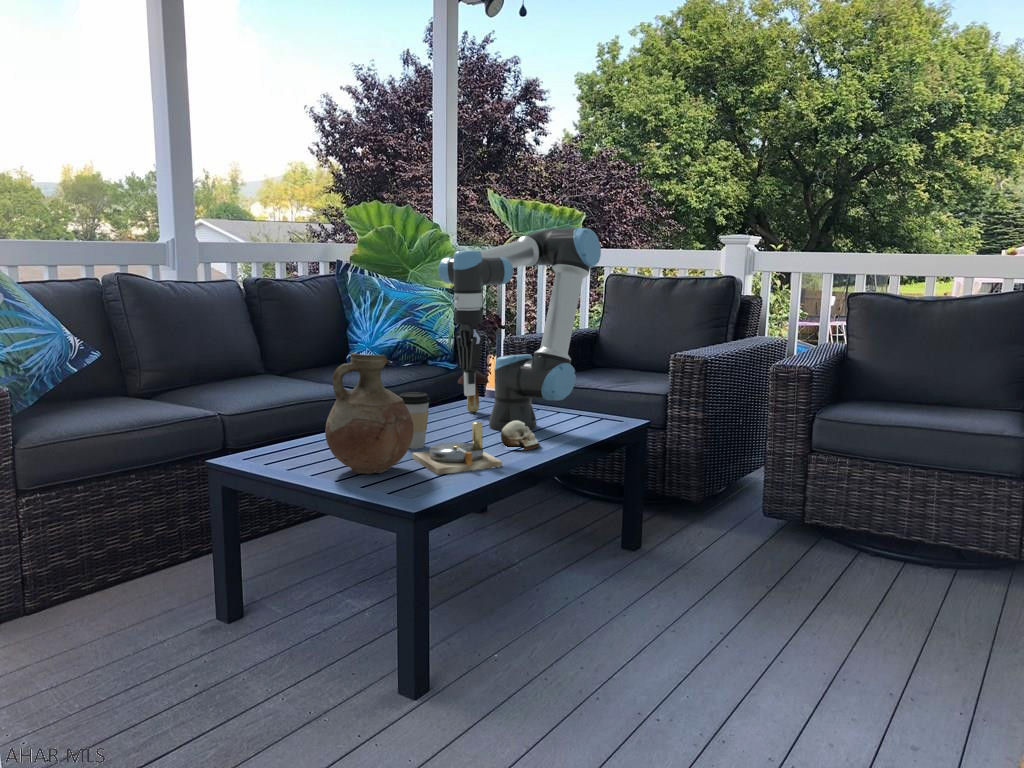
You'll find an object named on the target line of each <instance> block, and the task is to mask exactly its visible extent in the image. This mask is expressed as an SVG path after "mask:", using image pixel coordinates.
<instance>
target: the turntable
mask: <svg viewBox="0 0 1024 768" xmlns="http://www.w3.org/2000/svg"><path fill="white" fill-rule="evenodd" d="M471 427H472V430H471V431H472V432H471V433H472V440H471V442H472V443H470V442H459V441H458V442H442V443H438V444H435V445H432V446H430V448H429V451H430V458H431V459H433V460H436V461H441V462H452V463H460V462H466V452H471V453H472V461H476V460H479V459H481V458H482V457H483V452H484V447H483V422H482V421H474V422H472V426H471Z"/></svg>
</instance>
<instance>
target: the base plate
mask: <svg viewBox="0 0 1024 768" xmlns="http://www.w3.org/2000/svg"><path fill="white" fill-rule="evenodd" d="M411 455H412V459H413V460H414V461H416V462H418V463H419V464H420V465H422V466H424V467H425V468H427V469H428V470H429V471H431V472H432V473H434V474H435V475H444V474H445V475H446V474H453V473H462V471H463V472H468V471H467V470H472V471H477V470H476V469H481V470H485V469H484V468H489V469H493V468H492V467H498V466H502V467H503V461H502V460H500V459H498V458H496V457H495V456H493V455H491V454H489V453H487V452H486V451H483V457H482V458H481V459H479V460H476V461H472V453H471V452H466V462H460V463H452V462H441V461H436V460H433V459H431V458H430V450H428V451H418V452H417V451H416V452H412V454H411ZM498 468H499V467H498Z"/></svg>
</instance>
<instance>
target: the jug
mask: <svg viewBox="0 0 1024 768" xmlns="http://www.w3.org/2000/svg"><path fill="white" fill-rule="evenodd" d="M388 361H389V360H388V359H387V357H386V355H384V354H361V353H355V352H351V353H350V362H348V363H342V364H341V365H339V366H337V368H336V369H335V371H334V373H333V375H332V387H333V390H334V394H335V396H336V400H335V402H334V404H333V406H332V408H331V410H330V411H329V414H328V416H327V419H326V423H325V432H324V433H325V435H324V436H325V439H326V444H327V446H328V448H329V450H330V452H331V453H332V455H333V456H334V457H335V458H336V460H338V461H339V462H340V463H341V464H342V465H344V466H345V467H348V468H350V469H351V473H354V474H364V475H365V474H366V475H372V474H375V473H377V474H381V473H385V471H389V470H390V468H391V467H393V466H395V465H396V464H397V463H398V462H400V461H401V460H402V458H404V457H405V455H406V454H407V452H408V451H409V449H410V448H409V447H410V444H411V442H412V439H413V431H414V427H413V421H412V418H411V415H410V413H409V410H408V408H407V407H406V405H405V404H404V402H403V399H402V398H400V397H399V395H397V394H396V393H394V391H393V392H392V391H391V390H389V389H387V388H386V387H384V385H383V382H382V378H381V375H382V374H381V373H382V371H383V369H384V367H385V366H386V364H387V363H388ZM351 372H357V373H359V378H358V379H359V380H358V383H357V385H356V386H355V387H354V388H352V389H350V390H347V389H345V387H344V385H343V384H344V383H343V378H344V377H345V375H346V374H347V373H348V374H349V373H351Z"/></svg>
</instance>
